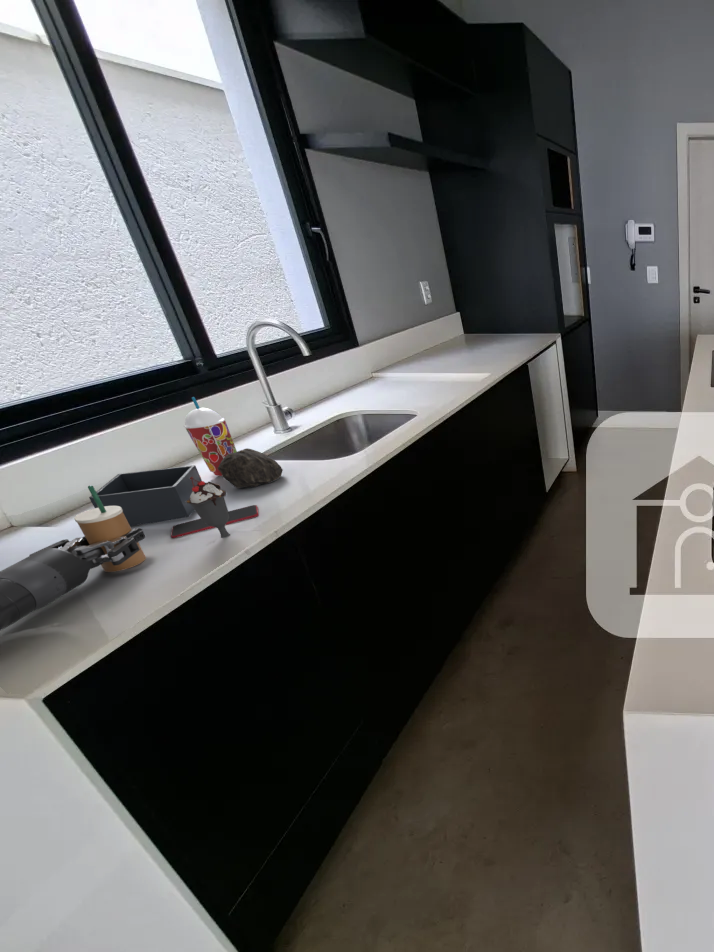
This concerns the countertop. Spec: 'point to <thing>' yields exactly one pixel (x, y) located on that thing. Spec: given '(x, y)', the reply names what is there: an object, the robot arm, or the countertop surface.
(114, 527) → the takeaway cup
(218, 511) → the sundae
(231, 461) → the rock
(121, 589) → the countertop surface
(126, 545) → the robot arm
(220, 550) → the countertop surface
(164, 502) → the bin
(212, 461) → the smoothie
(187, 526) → the smartphone
